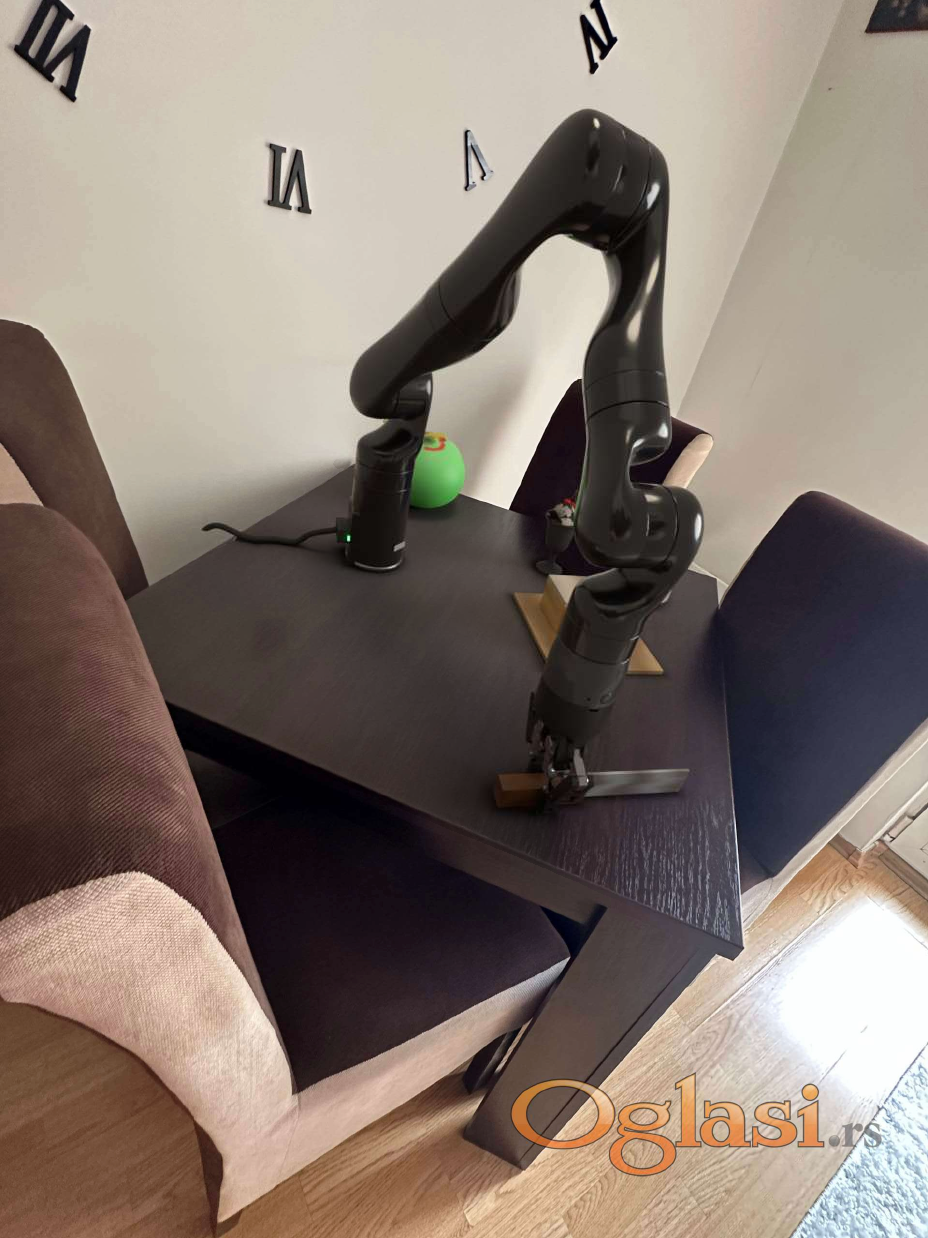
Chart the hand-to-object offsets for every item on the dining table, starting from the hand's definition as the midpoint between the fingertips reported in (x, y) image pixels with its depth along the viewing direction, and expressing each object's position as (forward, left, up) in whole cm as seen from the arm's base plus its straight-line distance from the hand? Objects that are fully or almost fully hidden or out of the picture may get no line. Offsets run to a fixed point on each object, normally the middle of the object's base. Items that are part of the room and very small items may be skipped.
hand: (537, 796), depth 72 cm
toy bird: (-2, +76, 0) cm, 76 cm away
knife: (+7, 0, 0) cm, 7 cm away
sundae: (+19, +52, 0) cm, 55 cm away
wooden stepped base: (+18, +32, 0) cm, 36 cm away
